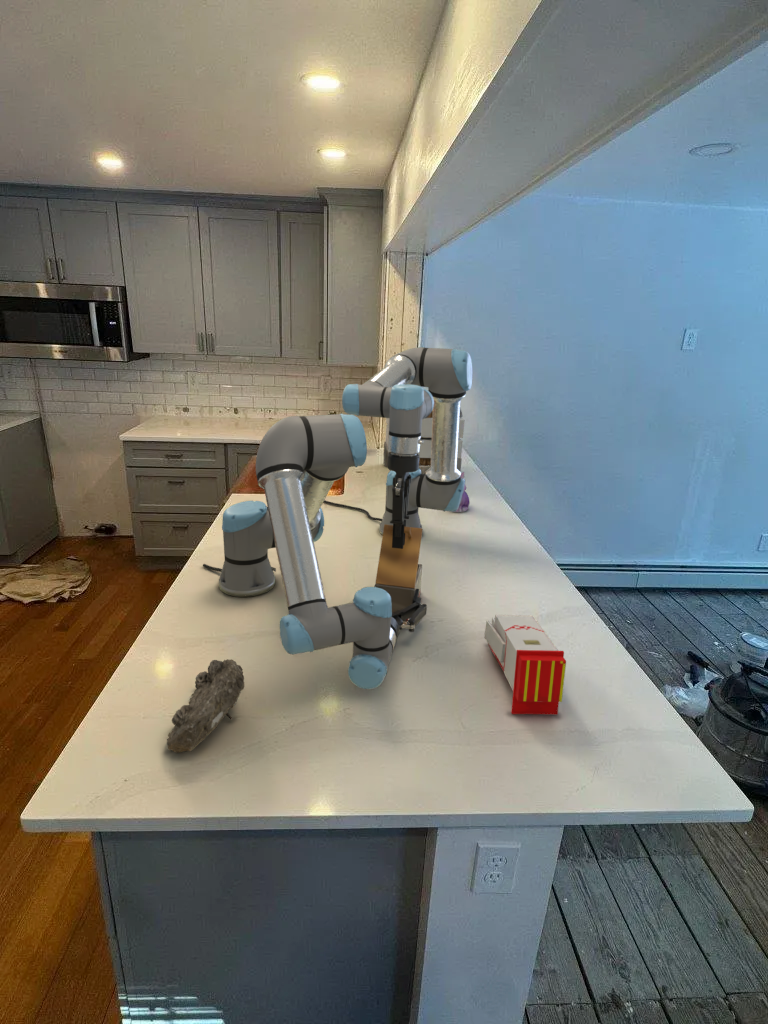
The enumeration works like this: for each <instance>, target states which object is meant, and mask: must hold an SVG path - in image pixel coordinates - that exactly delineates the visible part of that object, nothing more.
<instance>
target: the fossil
mask: <svg viewBox="0 0 768 1024" xmlns="http://www.w3.org/2000/svg"><path fill="white" fill-rule="evenodd" d="M243 670H244V669H243V667H242V665H240V664H237V662H236V661H235V660H234V659H232V658H231V659H227V658H226V659H224V660H223V661H222V660H217V659H212V660H211V661H210V663H209V665H208V666H207V671H201V672H199V673H198V674H197V675H196V676H195V680H194V684H195V685H194V687H195V689H194V690H193V693H192V694H191V697H190V698H189V700H188V704H184V705H182V706H181V707H180V709H177V710H176V711H175V713H174V715H173V716H172V718H171V723H172V724H173V727H172V730H171V731H170V732H168V734H167V738H166V741H167V742H166V745H167V749H168V750H169V751H173V752H174V753H176V754H178V753H182V752H188V751H189V752H192V751H193V750H195V748H196V747H197V746H199V744H200V743H201V742H203V741H204V740H205V739H206V738H207V737H208V736H209V735H210V734H211V733H212V732H214V730H215V729H217V727H218V726H219V724H220V722H221V721H222V720H223V719H224V718H225V716H226V717H227V719H229V720H233V717H232V715H230V714H229V710H230V709H231V708H234V706H235V704H236V703H237V702H238V699H239V697H240V695H241V693H242V691H243V690H245V689H244V688H245V675H244V671H243Z"/></svg>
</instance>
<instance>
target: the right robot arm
mask: <svg viewBox="0 0 768 1024" xmlns="http://www.w3.org/2000/svg"><path fill="white" fill-rule="evenodd" d="M472 386H473V361H472V357H471V355H470V353H469V352H468V351H467V350H464V349H456V348H440V347H439V348H437V347H425V346H424V347H422V346H419V347H412V348H407V349H406V350H403V351H400V352H398V353H396V354H394V355H392V356H391V357H389V359H388V360H386V362H385V364H384V367H383V368H382V369H380V370H379V371H378V372H377V373H375V374H373V376H371V377H370V378H369V379H368V380H366V381H365V382H364V383H363V384H358V383H353V384H352V383H349V384H346V385H345V387H344V389H343V391H342V397H341V403H342V409H343V411H344V413H346V415H355V416H356V417H359V416H360V417H371V418H382V419H383V418H384V419H386V418H389V433H388V451H389V453H388V456H387V466H386V468H387V469H388V471H389V472H388V473H387V475H386V482H385V504H384V505H385V507H384V508H385V509H384V513H383V515H382V518H380V517H373V516H371V515H370V513H369V511H367V510H366V509H365V508H361V507H358V506H357V507H356V506H352V505H348V504H342V503H338V502H337V503H336V502H332V501H328V500H326V499H325V500H324V502H323V503H324V504H328V505H332V506H336V507H341V508H345V509H350V510H354V511H360V512H362V513H364V514H366V516H367V518H368V519H370V520H372V521H378V522H379V526H378V533H379V534H380V535H381V536H383V530H384V524H386V525H393V536H392V548H399V549H403V545H405V533H404V527H413V528H422V529H423V525H422V524H421V518H420V515H419V508H420V509H426V510H427V509H428V510H434V511H442V512H452V513H455V512H454V511H456V510H457V509H458V507H459V505H460V501H461V498H462V494H463V490H464V485H466V479H465V478H464V479H463V478H460V477H461V473H462V472H461V473H460V471H459V470H458V469H457V451H458V434H459V418H460V408H461V401H462V399H464V398H465V397H466V395H467V392H468V391H470V390H471V389H472ZM426 388H427V389H426ZM432 410H433V413H432V441H431V465H430V466H429V468H427V470H426V471H425V473H422V469H421V468H420V466H419V458H420V456H419V454H418V453H419V452H420V444H423V440H420V438H421V426H422V420H423V419H424V418H426V417H428V415H429V414H430V413H431V411H432ZM390 470H391V471H390Z"/></svg>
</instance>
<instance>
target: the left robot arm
mask: <svg viewBox="0 0 768 1024" xmlns="http://www.w3.org/2000/svg"><path fill="white" fill-rule="evenodd" d="M367 445H368V444H367V437H366V431H365V429H364V425H363V423H362V421H361V420H360V418H359V416H357V415H353V414H347V413H346V414H344V413H339V414H338V413H337V414H335V413H334V414H321V415H319V414H317V415H292V416H291V415H290V416H287V417H284V418H282V419H280V420H278V421H276V422H275V423H273V424H272V426H270V428H269V429H268V430H267V431H266V432H265V434H264V436H263V437H262V439H261V441H260V443H259V446H258V449H257V453H256V457H255V475H256V480H257V485H258V487H260V488H262V489H263V490H264V495H265V501H266V503H265V502H263V501H262V500H261V501H260V500H255V501H254V500H244V501H241V502H236V503H234V504H232V505H230V506H229V507H227V508H226V509H224V512H223V513H222V523H221V524H222V525H221V530H222V538H223V539H222V541H223V556H224V562H223V563H222V567H221V568H219V567H215V566H212V565H208V564H206V563H203V564H202V567H203V568H206V569H208V570H210V571H215V572H220V575H219V578H218V588H219V589H220V591H221V592H222V593H224V594H225V595H228V596H232V597H236V598H237V597H239V598H249V597H250V598H251V597H254V596H260V595H263V594H265V593H267V592H269V591H271V590H273V588H274V587H275V585H276V576H275V573H274V572H277V567H274V566H272V565H271V562H270V560H269V554H268V553H269V552H268V550H269V549H276V556H277V561H278V566H279V571H280V577H281V581H282V587H283V591H284V597H285V602H286V607H287V611H288V612H287V613H288V614H286V615H283V616H281V618H280V619H279V624H278V625H279V626H278V627H279V636H280V637H279V638H280V641H281V644H282V647H283V649H284V651H285V652H286V653H287V654H289V655H293V656H294V655H299V654H305V653H313V652H314V651H318V650H324V649H328V648H332V647H336V646H340V645H347V644H350V643H352V657H351V658H350V660H349V662H348V663H349V665H348V669H347V674H348V678H349V680H350V681H351V683H352V684H354V685H355V686H356V687H357V688H359V689H363V690H374V689H376V688H378V687H379V686H381V685H382V683H383V682H384V680H385V678H386V675H387V674H388V669H389V665H390V663H391V662H390V661H391V658H392V655H393V652H394V649H395V646H396V644H397V643H396V642H397V640H398V637H399V634H400V631H402V630H403V629H408V632H410V633H413V632H415V627H416V626H417V625H418V624H419V623H420V622H421V621H422V619H424V617H426V616H427V610H428V609H427V608H428V604H427V603H422V597H421V596H419V589H416V591H415V595H414V597H413V602H412V604H411V605H409V606H407V607H406V608H404V609H402V610H397V611H395V612H394V613H393V612H392V603H391V596H390V595H389V594H388V593H387V592H386V591H385V590H383V589H381V588H377V587H376V583H375V584H374V586H364V587H361V588H360V589H358V590H357V591H355V593H354V596H353V599H352V602H349V603H344V604H339V605H334V606H328V603H327V598H326V594H325V589H324V583H323V579H322V574H321V571H320V565H319V561H318V556H317V551H316V548H315V542H316V543H317V542H318V541H319V540H320V539H321V538H322V536H323V534H324V530H325V529H324V527H325V516H324V515H325V514H324V511H323V508H322V506H323V503H324V500H325V501H326V498H327V496H328V494H329V492H330V491H331V489H332V487H333V485H334V483H335V482H336V481H338V480H341V479H342V478H344V476H346V474H347V472H348V470H349V469H350V468H358V467H361V466H363V465H365V463H366V460H367V455H368V446H367ZM409 618H410V619H409ZM407 619H408V620H407Z"/></svg>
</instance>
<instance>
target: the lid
mask: <svg viewBox="0 0 768 1024" xmlns="http://www.w3.org/2000/svg"><path fill="white" fill-rule="evenodd" d="M404 533H405V545H403V549H399V548H392V536H393V525H386V524H384V530H383V535H382V537H381V545H380V550H379V558H378V564H377V569H376V570H377V571H376V576H375V577H376V578H375V584H381V585H388V586H396V587H404V588H412V589H415V583H416V576H417V568H418V564H419V560H420V553H421V552H420V551H421V544H422V537H423V527H422V528H413V527H404Z"/></svg>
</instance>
